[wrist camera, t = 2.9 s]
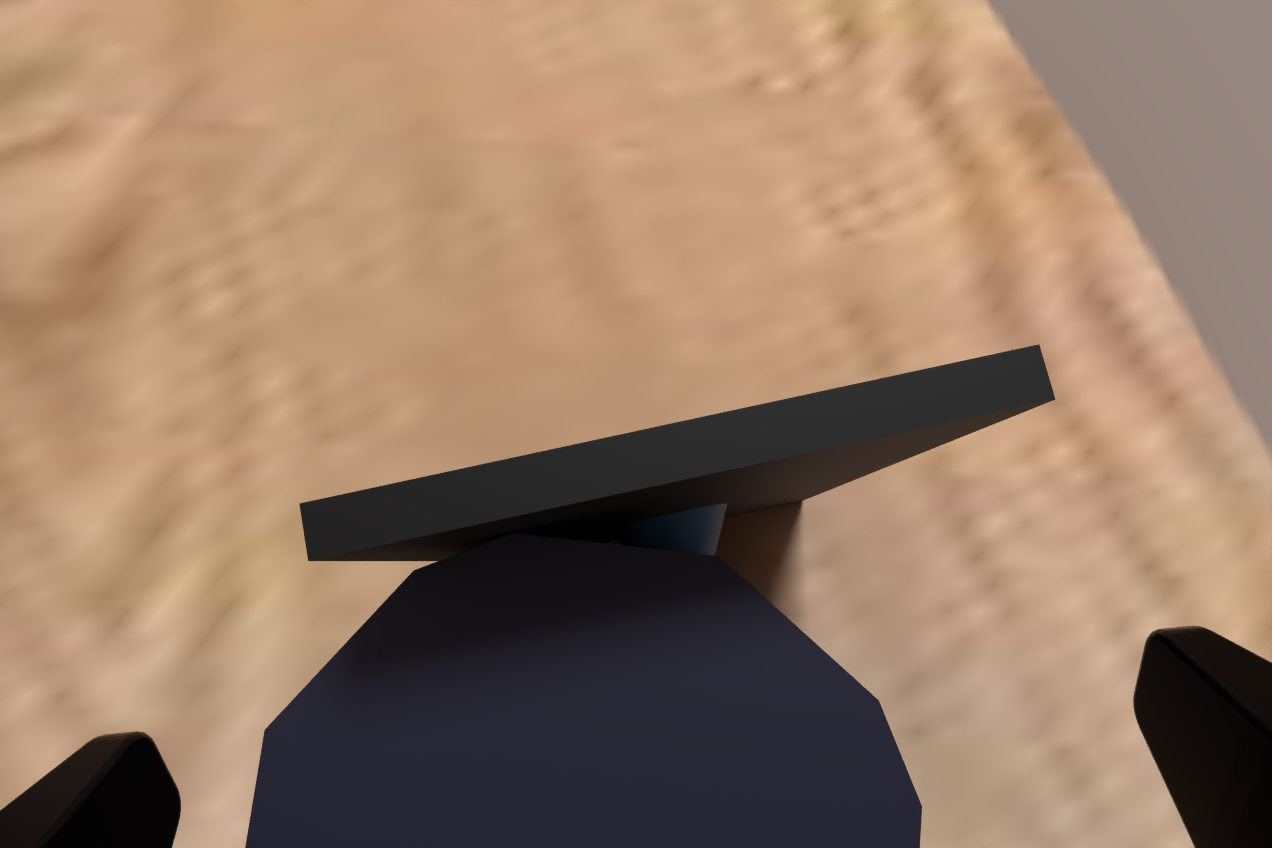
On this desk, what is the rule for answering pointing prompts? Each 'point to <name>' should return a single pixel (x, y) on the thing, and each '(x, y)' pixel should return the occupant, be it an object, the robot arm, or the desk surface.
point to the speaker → (610, 644)
